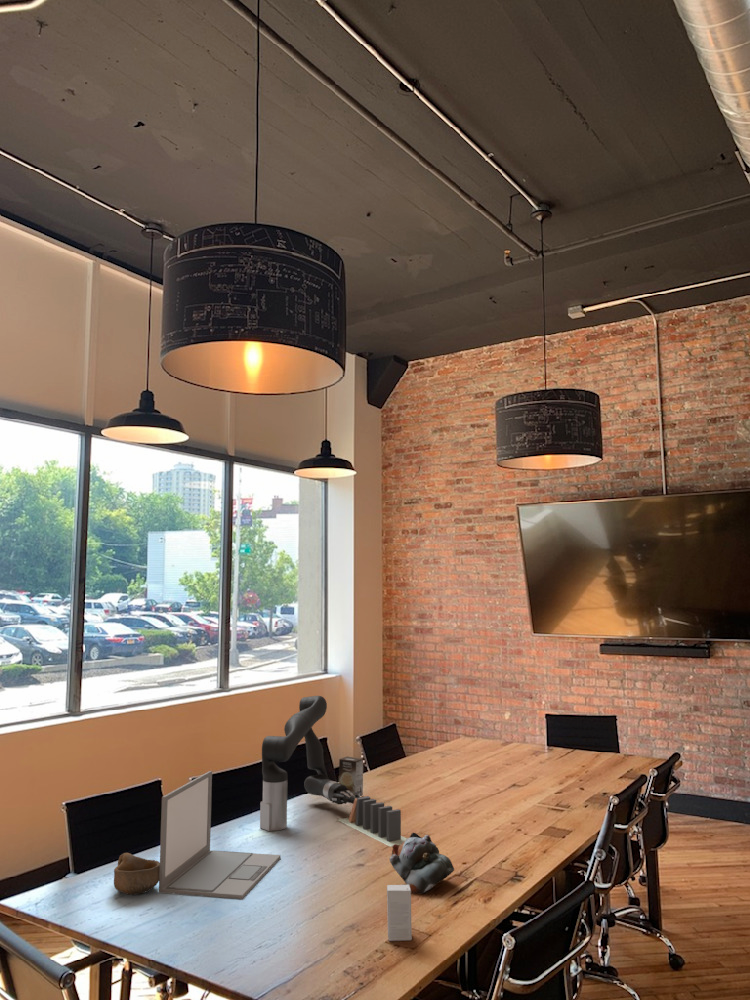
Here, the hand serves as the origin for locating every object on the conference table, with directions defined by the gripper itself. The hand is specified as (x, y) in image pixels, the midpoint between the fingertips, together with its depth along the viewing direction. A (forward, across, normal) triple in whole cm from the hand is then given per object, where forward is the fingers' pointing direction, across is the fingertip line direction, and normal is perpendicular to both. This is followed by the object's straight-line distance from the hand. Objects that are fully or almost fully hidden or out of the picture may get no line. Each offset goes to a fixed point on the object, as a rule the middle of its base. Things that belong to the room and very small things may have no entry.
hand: (357, 801), depth 290 cm
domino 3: (+9, 0, +8) cm, 12 cm away
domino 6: (+26, 0, +8) cm, 27 cm away
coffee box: (-35, +18, +8) cm, 40 cm away
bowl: (+22, -90, +8) cm, 93 cm away
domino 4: (+15, 0, +8) cm, 17 cm away
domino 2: (+4, 0, +7) cm, 8 cm away
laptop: (+24, -63, +8) cm, 68 cm away
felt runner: (+12, 0, +8) cm, 14 cm away
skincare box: (+90, -41, +8) cm, 100 cm away
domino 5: (+20, 0, +8) cm, 22 cm away
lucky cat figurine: (+65, -16, +8) cm, 67 cm away
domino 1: (-2, 0, +7) cm, 7 cm away
